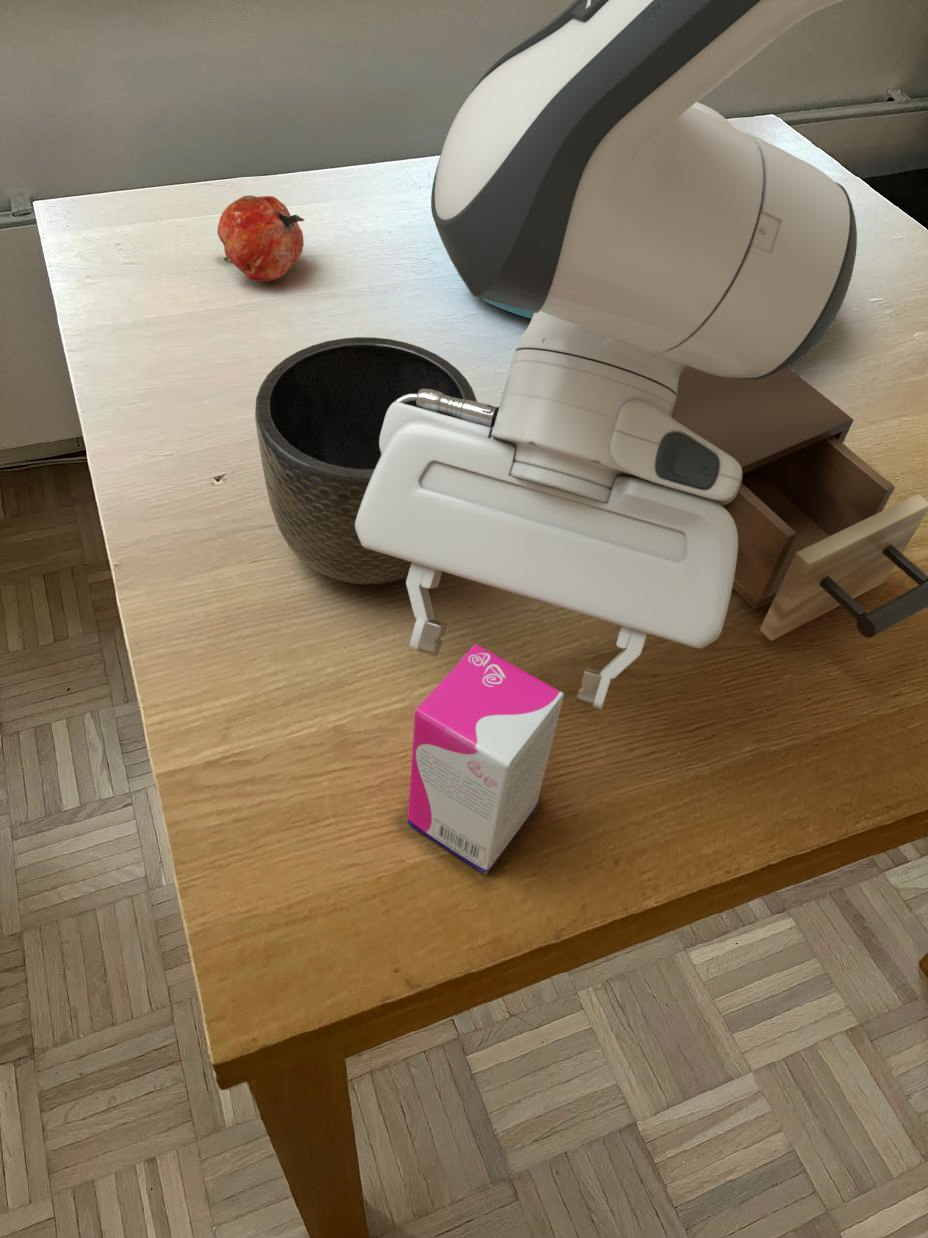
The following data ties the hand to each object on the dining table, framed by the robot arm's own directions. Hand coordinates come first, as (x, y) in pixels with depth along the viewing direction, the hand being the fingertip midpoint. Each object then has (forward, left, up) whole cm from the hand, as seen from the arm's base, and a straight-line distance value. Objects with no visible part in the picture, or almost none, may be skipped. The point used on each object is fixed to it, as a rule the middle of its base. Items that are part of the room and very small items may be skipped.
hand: (505, 678), depth 55 cm
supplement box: (-2, +3, -9) cm, 10 cm away
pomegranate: (+55, -10, -9) cm, 57 cm away
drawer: (+3, -27, -8) cm, 29 cm away
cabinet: (+14, -27, -9) cm, 32 cm away
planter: (+20, -2, -9) cm, 22 cm away
